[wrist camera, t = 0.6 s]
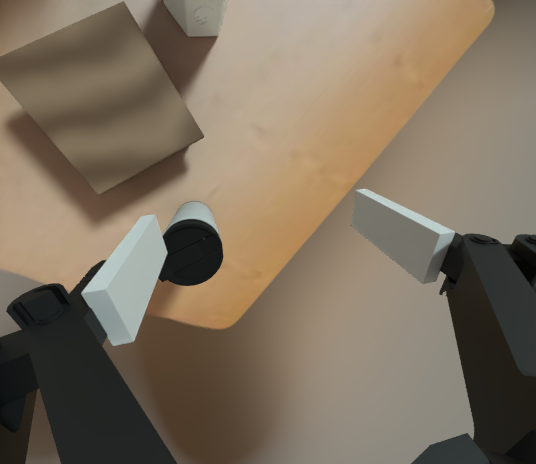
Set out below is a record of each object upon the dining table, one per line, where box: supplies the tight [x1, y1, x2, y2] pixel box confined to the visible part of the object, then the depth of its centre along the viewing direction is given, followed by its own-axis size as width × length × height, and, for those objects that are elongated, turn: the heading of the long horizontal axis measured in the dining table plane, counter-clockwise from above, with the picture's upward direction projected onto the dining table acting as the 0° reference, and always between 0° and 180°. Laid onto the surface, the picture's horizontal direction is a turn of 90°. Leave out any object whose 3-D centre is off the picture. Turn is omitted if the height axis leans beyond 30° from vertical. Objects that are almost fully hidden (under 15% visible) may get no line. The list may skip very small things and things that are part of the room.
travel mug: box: [158, 201, 223, 286], centre depth 30 cm, size 6×7×20 cm
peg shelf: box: [0, 1, 204, 195], centre depth 30 cm, size 16×16×6 cm
